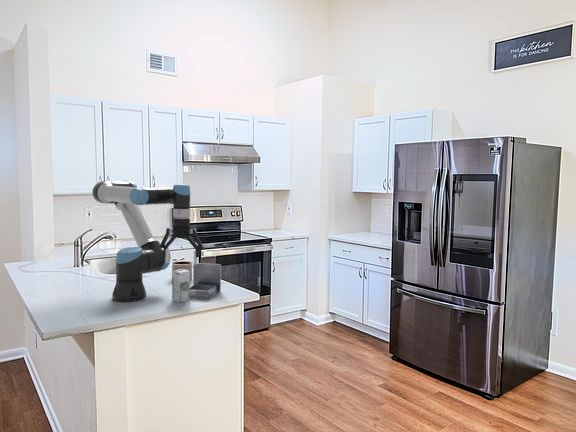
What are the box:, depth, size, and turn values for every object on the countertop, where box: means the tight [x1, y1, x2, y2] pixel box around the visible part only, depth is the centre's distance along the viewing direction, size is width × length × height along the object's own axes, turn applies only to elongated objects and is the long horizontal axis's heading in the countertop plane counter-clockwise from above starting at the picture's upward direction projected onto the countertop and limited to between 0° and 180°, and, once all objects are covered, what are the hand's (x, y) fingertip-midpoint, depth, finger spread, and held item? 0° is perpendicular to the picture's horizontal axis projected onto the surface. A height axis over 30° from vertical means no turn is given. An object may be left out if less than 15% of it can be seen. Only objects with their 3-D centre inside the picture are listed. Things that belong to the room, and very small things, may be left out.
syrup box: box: [171, 269, 191, 304], centre depth 212 cm, size 6×6×14 cm
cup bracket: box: [189, 262, 222, 301], centre depth 224 cm, size 14×15×14 cm
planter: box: [171, 260, 193, 281], centre depth 254 cm, size 11×11×10 cm
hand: (181, 263), depth 211 cm, fingers open, 13 cm apart
